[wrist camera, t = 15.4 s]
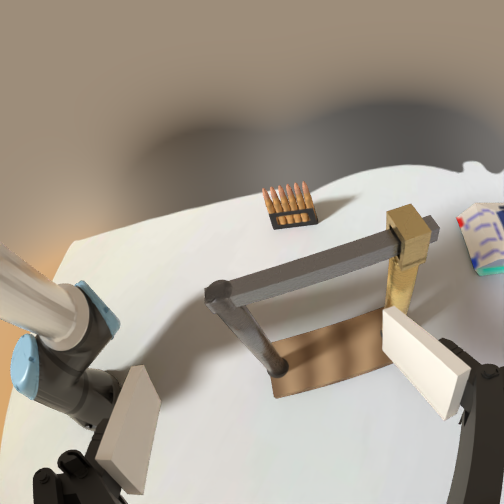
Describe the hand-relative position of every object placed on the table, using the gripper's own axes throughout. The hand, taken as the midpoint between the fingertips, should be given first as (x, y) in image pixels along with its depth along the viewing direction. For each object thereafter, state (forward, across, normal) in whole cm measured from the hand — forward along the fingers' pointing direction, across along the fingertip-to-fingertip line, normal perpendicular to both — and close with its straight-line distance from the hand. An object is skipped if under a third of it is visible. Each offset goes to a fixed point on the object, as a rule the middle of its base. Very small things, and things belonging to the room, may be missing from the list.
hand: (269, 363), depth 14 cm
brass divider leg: (+24, +21, -18) cm, 37 cm away
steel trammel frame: (+26, +13, -20) cm, 35 cm away
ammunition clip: (+55, +14, -4) cm, 57 cm away
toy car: (+25, +60, -12) cm, 66 cm away
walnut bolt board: (+27, +13, -21) cm, 36 cm away
